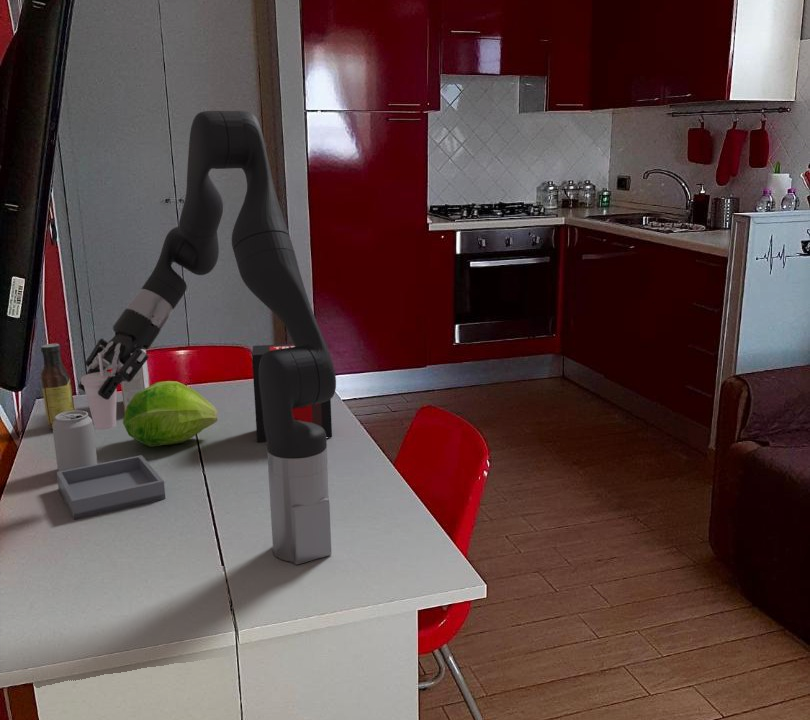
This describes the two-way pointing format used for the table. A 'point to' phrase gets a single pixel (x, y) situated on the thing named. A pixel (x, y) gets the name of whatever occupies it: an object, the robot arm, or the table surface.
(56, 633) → the table surface
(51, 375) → the sauce bottle
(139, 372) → the cracker box
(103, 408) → the smoothie
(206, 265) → the robot arm
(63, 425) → the can
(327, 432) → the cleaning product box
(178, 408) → the lettuce
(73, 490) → the tray
